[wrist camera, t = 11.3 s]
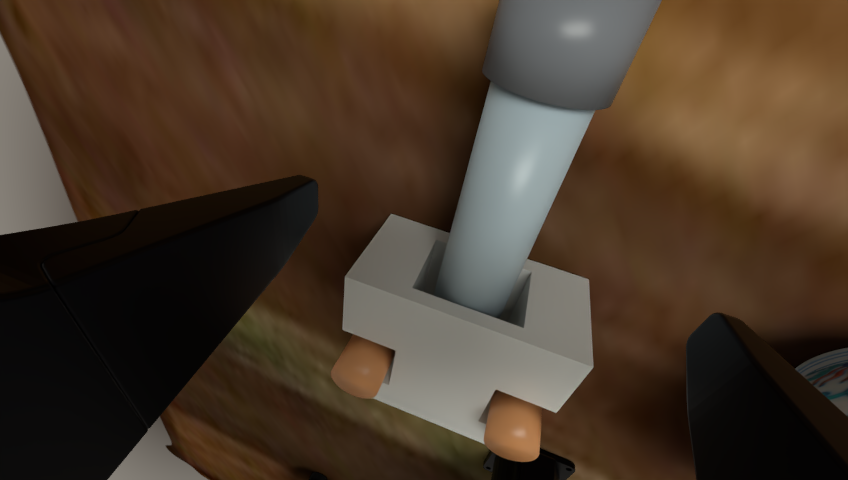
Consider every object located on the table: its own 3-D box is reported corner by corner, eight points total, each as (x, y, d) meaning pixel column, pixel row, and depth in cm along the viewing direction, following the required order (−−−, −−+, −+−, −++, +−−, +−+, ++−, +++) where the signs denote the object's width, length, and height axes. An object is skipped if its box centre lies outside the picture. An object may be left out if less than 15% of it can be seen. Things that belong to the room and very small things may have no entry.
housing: (528, 375, 27) (519, 458, 23) (376, 318, 29) (339, 384, 24) (588, 279, 21) (593, 367, 16) (391, 213, 23) (344, 276, 18)
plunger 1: (392, 368, 23) (375, 404, 21) (350, 351, 23) (330, 386, 21) (397, 340, 21) (380, 378, 19) (352, 323, 22) (331, 358, 20)
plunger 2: (532, 423, 22) (528, 468, 20) (485, 405, 22) (477, 447, 20) (550, 399, 20) (547, 445, 18) (499, 380, 20) (492, 423, 18)
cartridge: (507, 301, 23) (495, 363, 19) (435, 276, 23) (411, 331, 20) (648, -6, 13) (677, 6, 9) (517, -34, 13) (497, -35, 10)
